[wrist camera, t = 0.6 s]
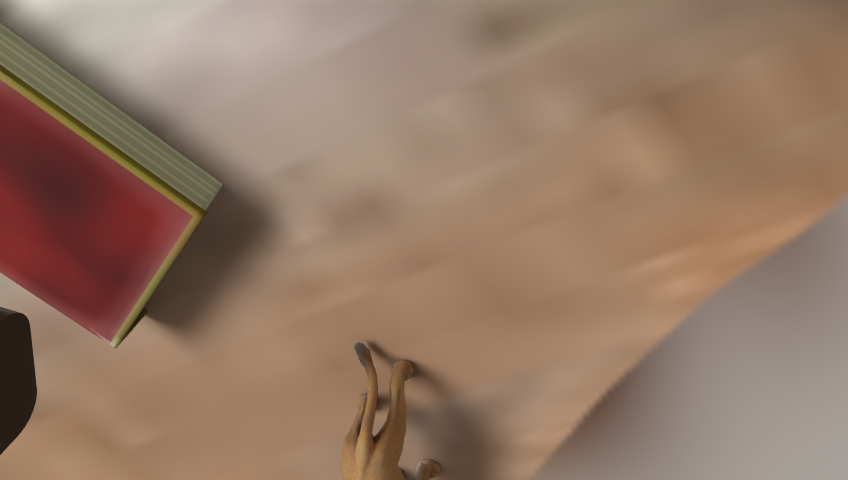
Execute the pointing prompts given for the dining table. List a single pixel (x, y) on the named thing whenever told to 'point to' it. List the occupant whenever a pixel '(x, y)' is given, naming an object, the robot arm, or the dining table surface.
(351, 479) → the lion figurine
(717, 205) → the dining table surface
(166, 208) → the hardcover book
